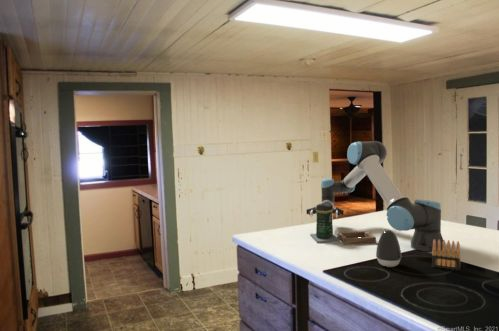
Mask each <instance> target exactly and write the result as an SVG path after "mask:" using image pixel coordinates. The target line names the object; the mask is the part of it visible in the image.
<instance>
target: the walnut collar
mask: <svg viewBox="0 0 499 331" xmlns="http://www.w3.org/2000/svg"><path fill="white" fill-rule="evenodd" d="M336 233H337V234H336V237H337V238H338V239H339V240H340V242H342V243H343V244H344V245H345V246H350V245H366V244H370V245H371V244H376V243H377V237H376V236H375V235H373V234H371V233H370V232H368V231H367V230H364V231H363V230H362V231H361V230H359V231H343V232H341V231H339V232H336ZM358 237H361V238H358Z"/></svg>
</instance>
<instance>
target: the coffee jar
mask: <svg viewBox="0 0 499 331" xmlns="http://www.w3.org/2000/svg"><path fill="white" fill-rule="evenodd" d="M332 206H333V205H332V204H331V203H327V202H324V203H322V202H321V203H318V204H317V205H315V207H316V214H315V215H316V226H315V228H316V229H315V234H316V236H317V237H319V238H322V239H323V238H330V237H332V236H333V235H334V228H333V214H332V212H333V209H334V208H333V207H332Z"/></svg>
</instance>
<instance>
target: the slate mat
mask: <svg viewBox="0 0 499 331" xmlns="http://www.w3.org/2000/svg"><path fill="white" fill-rule="evenodd" d="M310 237H311V238H312V239H313V240H314V242H316V243H317V244H327V243H340V242H341V241H340V240H339V239H338V238H337V235H335V234H333V236H332V237H330V238H323V239H322V238H319V237H317V236H316V233H310Z"/></svg>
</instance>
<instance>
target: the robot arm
mask: <svg viewBox="0 0 499 331" xmlns="http://www.w3.org/2000/svg"><path fill="white" fill-rule="evenodd" d="M346 155H347V156H346V157H347V161H348V162H349V164H352V165H353V166H354V165H356V166H355V167H353V169H352V170H351V171H350V172H349V173H348V174H347V175H346V176H345V177H344V178H343V179H342V180H339V181H336V180H334V179H333V178H323V179H322V180H321V185H320V187H321V203H324V202H327V203H331V204H332V205H333V206H332V207H333V212H332V215H335V219H336V218H338V217H339V216H344V209H342V208H339V207H335V205H336V204H335V203H336V202H335V195H337V194H346V193H347V194H349V193H352V192H354V191H355V190H356V189H355V188H356V185H357V184H358V183H360V182H361V181H362V179H364V177H366V176H367V178H368V179H369V181H370V182H371V183H372V185H373V186H374V188H375V189H376V191H377V193H378V194H379V195H380V197H381V199H382V200H383V201H384V203H385V204H386V219H387V223H388V224H389V226H390V227H391V228H393V229H394V230H395V231H399V232H401V231H403V232H404V231H405V232H407V231H409V230H414V231H413V235H412V238H411V240H410V247H411V248H412V249H414V250H417V251H422V252H432V248H433V240H434V239H435V241H436V249H437V246H438V240H439V239H440V243H441V252H442V243H443V240H444V238H443V234H442V231H441V229H442V228H441V227H442V226H441V225H442V223H441V222H442V206H441V203H440V202H438V201H436V200H428V199H418V198H417V199H415V200H414V202H413V203H412V201H411V200H410V198H409V197H407V196H404V195H403V194H402V193H401V191H400V190H399V189H398V187H397V185H396V184H395V183H394V181H393V180H392V179H391V177H390V176H389V174H388V173H387V171H386V170H385V169H384V167H383V166H382V165H381V164H382V163H383V162H384V161H385V160H386V159H387V155H388V153H387V148H386V146H385V145H384V143H382V142H380V141H377V140H370V141H366V140H365V141H354V142H351V143H350V145H349V146H348V148H347V153H346ZM305 212H306V215H309V217H310V218H312V217H313V215H317V214H316V206H314V207H312V208H311V207H310V208H308V209H306V211H305Z"/></svg>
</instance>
